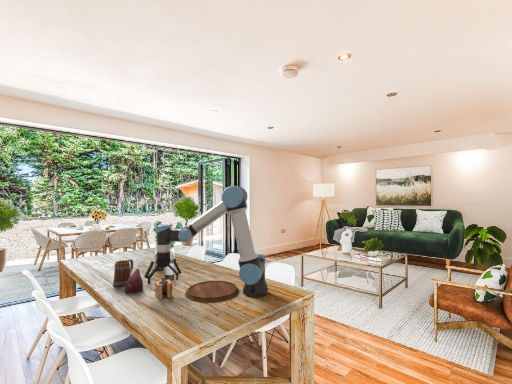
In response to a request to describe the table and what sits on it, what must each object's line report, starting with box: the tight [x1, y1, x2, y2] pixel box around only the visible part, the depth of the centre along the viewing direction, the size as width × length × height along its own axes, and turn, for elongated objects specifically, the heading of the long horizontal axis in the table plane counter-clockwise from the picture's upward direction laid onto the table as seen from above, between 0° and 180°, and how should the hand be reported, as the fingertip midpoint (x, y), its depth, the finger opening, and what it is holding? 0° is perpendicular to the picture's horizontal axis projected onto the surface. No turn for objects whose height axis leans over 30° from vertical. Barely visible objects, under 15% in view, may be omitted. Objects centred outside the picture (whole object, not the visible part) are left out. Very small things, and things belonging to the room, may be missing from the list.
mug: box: [112, 258, 134, 288], centre depth 179 cm, size 16×11×15 cm
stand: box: [161, 276, 167, 298], centre depth 155 cm, size 4×4×11 cm
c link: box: [154, 279, 173, 301], centre depth 155 cm, size 8×8×8 cm
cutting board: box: [184, 280, 240, 304], centre depth 162 cm, size 32×32×3 cm
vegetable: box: [124, 267, 144, 295], centre depth 165 cm, size 10×10×15 cm
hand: (163, 287), depth 155 cm, fingers open, 13 cm apart
